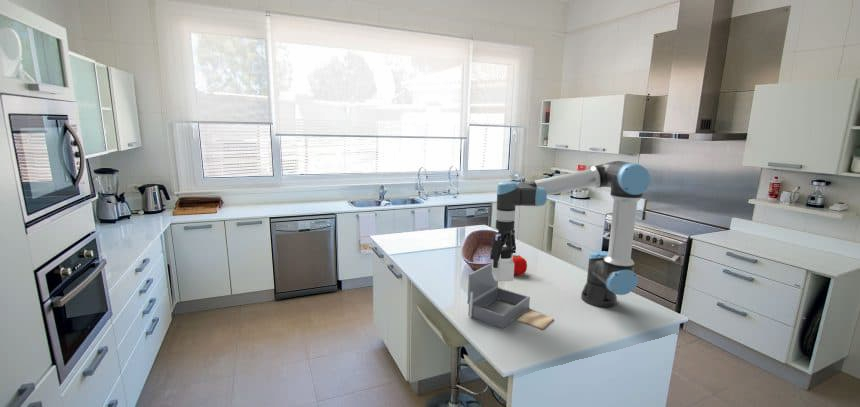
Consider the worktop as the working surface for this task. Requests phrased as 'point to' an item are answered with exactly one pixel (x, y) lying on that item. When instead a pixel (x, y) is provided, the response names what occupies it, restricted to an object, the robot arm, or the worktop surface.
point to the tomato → (519, 265)
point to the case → (492, 298)
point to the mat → (535, 319)
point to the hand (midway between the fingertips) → (502, 271)
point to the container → (505, 266)
